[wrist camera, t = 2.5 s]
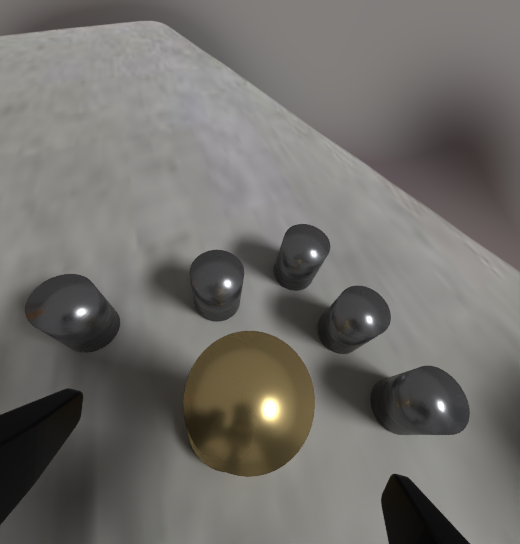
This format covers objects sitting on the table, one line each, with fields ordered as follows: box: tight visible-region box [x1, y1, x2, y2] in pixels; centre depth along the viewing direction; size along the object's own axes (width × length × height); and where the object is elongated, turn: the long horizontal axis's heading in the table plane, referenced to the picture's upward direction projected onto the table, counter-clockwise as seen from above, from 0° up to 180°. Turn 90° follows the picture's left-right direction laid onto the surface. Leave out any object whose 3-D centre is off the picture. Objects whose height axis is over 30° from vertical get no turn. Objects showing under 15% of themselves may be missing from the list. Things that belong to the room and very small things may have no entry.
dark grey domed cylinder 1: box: [317, 286, 391, 354], centre depth 17 cm, size 3×3×4 cm
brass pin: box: [183, 331, 315, 477], centre depth 11 cm, size 5×5×11 cm
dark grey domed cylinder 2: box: [371, 366, 470, 435], centre depth 15 cm, size 3×3×4 cm
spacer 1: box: [25, 274, 120, 352], centre depth 15 cm, size 3×3×4 cm
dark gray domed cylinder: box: [190, 250, 244, 321], centre depth 17 cm, size 3×3×4 cm
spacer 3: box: [274, 224, 330, 291], centre depth 20 cm, size 3×3×4 cm
